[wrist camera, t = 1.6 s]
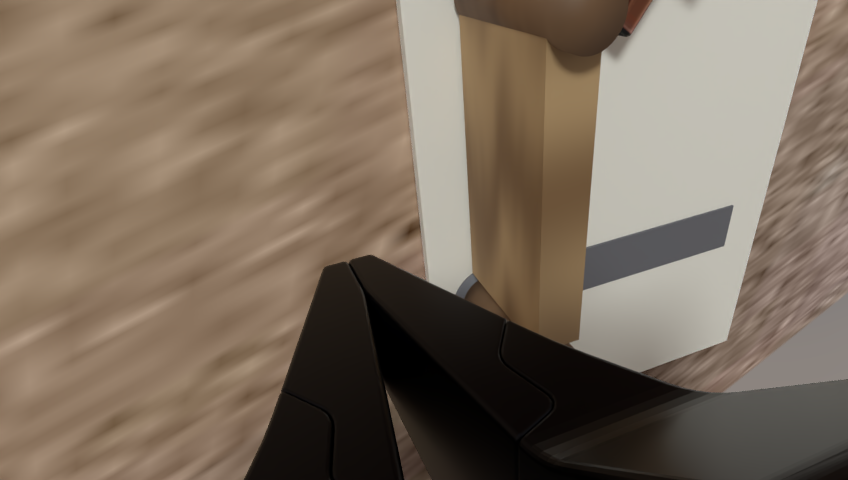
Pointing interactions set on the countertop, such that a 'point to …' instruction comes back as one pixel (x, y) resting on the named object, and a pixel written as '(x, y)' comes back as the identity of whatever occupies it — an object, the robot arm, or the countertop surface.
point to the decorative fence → (634, 15)
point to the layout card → (634, 165)
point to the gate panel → (533, 149)
